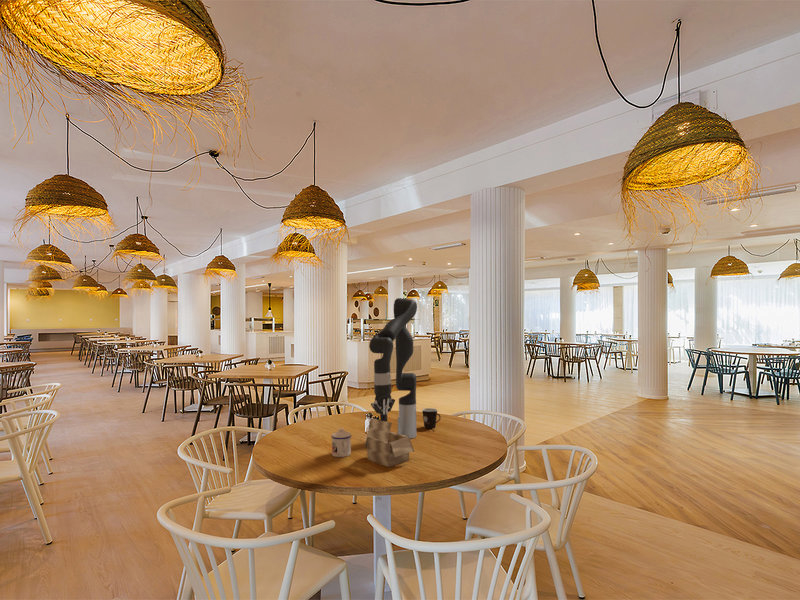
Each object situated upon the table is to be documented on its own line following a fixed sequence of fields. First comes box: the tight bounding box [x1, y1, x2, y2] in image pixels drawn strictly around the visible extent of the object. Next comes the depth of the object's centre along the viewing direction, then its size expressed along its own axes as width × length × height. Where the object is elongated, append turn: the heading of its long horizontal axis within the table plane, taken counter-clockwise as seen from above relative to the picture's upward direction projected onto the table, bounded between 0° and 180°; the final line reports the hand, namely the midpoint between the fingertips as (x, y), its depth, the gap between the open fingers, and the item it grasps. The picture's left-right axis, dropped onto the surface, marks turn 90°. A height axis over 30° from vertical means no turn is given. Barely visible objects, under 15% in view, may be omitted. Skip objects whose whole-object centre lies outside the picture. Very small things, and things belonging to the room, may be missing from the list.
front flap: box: [366, 417, 392, 442], centre depth 181 cm, size 13×1×8 cm, turn 45°
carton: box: [363, 431, 415, 468], centre depth 186 cm, size 20×16×10 cm
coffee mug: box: [421, 407, 441, 430], centre depth 238 cm, size 12×9×10 cm
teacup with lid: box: [331, 428, 352, 458], centre depth 192 cm, size 12×9×12 cm
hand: (383, 422), depth 183 cm, fingers closed
